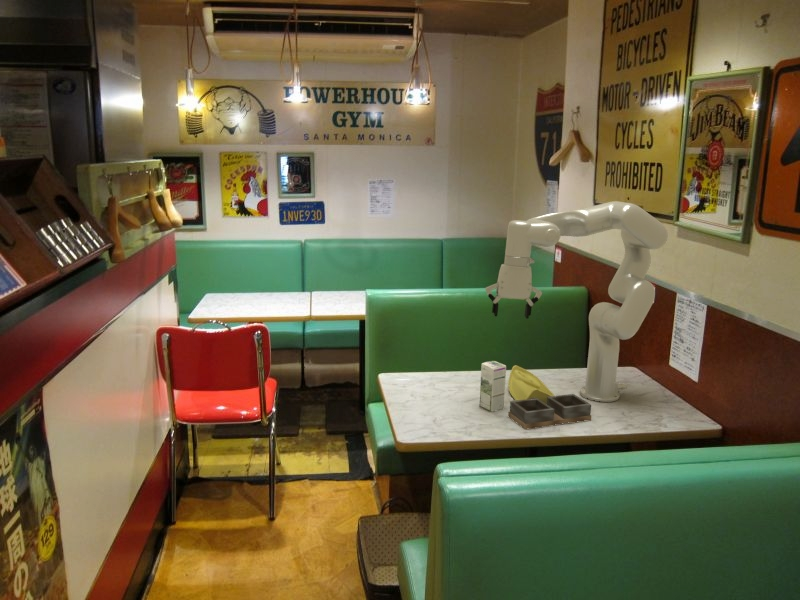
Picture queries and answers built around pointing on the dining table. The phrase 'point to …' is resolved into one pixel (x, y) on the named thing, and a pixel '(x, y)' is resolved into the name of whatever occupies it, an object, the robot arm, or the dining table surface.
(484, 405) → the syrup box
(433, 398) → the dining table surface
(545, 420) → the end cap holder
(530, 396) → the plastic component
